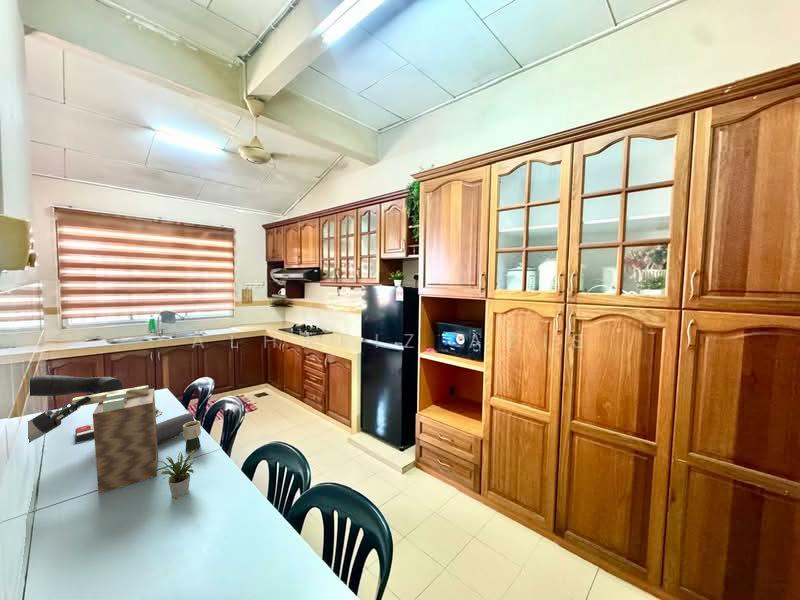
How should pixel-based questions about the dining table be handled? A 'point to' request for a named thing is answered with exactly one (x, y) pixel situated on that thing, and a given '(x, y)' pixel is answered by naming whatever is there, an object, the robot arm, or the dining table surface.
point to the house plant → (179, 475)
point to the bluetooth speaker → (172, 427)
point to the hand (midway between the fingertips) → (90, 396)
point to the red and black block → (84, 433)
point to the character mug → (192, 435)
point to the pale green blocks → (114, 401)
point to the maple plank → (102, 396)
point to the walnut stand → (126, 443)
